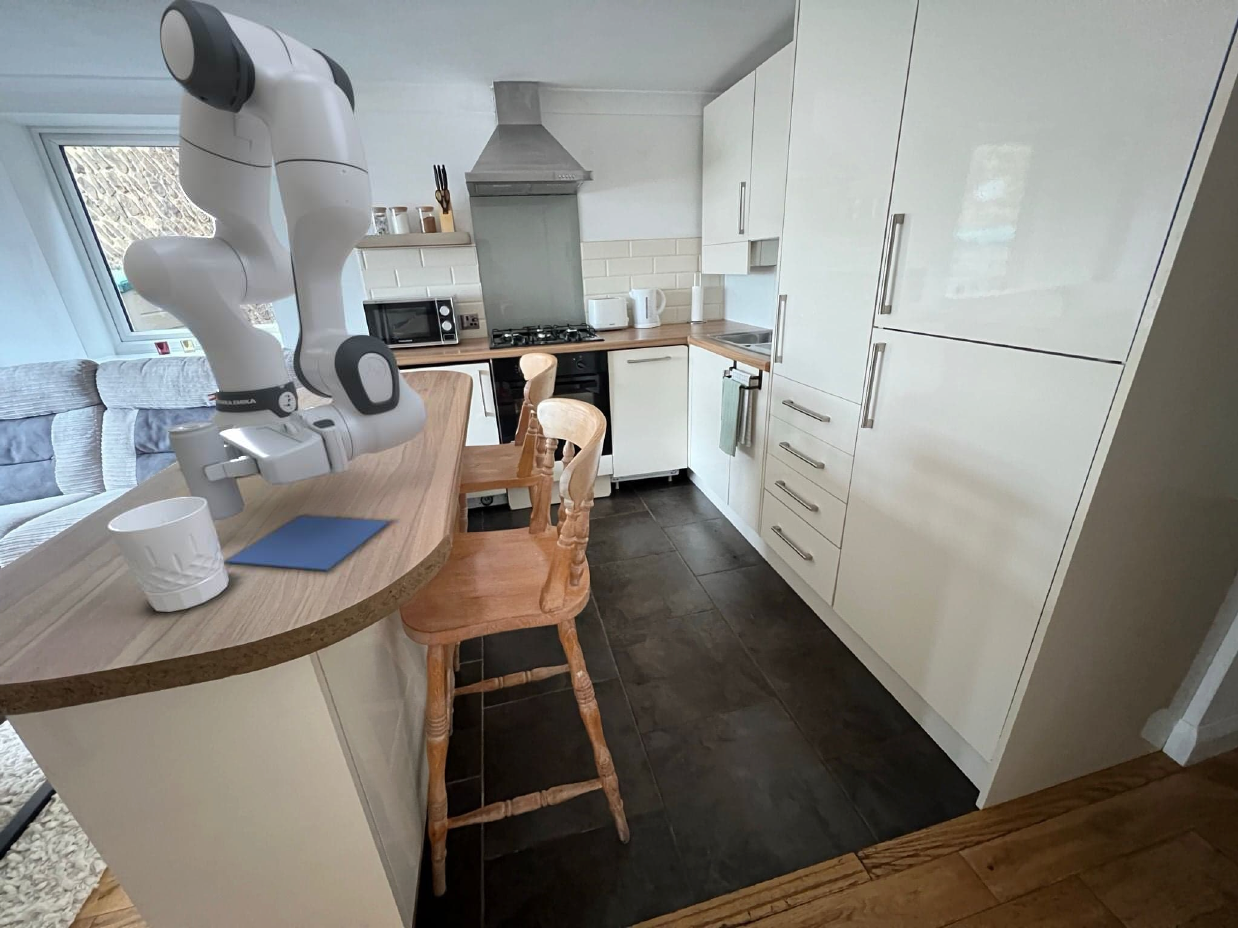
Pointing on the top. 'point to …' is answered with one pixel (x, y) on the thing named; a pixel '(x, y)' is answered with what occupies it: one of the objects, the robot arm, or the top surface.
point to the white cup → (172, 552)
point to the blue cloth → (309, 543)
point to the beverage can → (201, 448)
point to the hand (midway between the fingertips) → (198, 468)
